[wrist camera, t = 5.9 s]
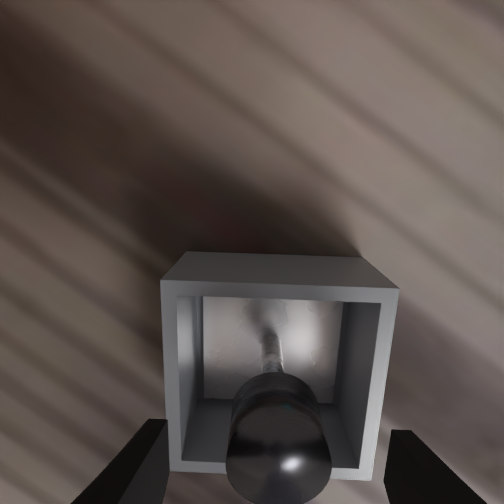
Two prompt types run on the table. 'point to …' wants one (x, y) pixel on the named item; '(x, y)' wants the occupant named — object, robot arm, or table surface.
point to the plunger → (273, 391)
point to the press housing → (277, 287)
